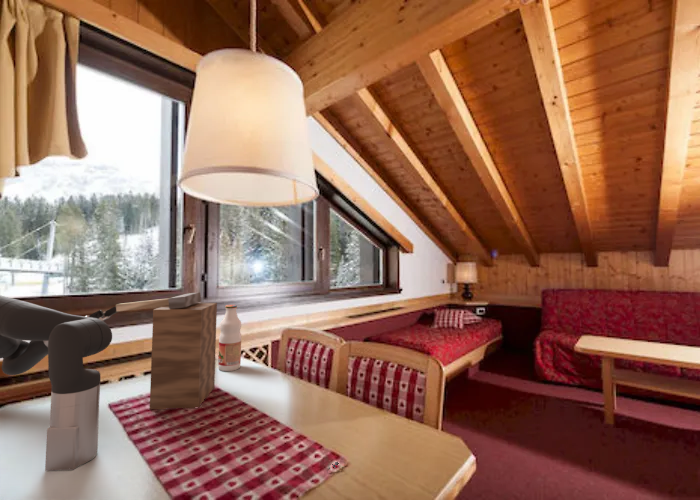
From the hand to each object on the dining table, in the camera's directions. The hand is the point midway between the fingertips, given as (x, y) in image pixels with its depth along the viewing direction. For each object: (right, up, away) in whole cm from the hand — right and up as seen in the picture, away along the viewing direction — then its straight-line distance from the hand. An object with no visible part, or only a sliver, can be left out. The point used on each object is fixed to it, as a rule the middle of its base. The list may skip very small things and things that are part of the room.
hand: (110, 310), depth 117 cm
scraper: (+15, +1, +2) cm, 15 cm away
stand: (+25, -31, +2) cm, 40 cm away
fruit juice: (+29, -32, +34) cm, 55 cm away
